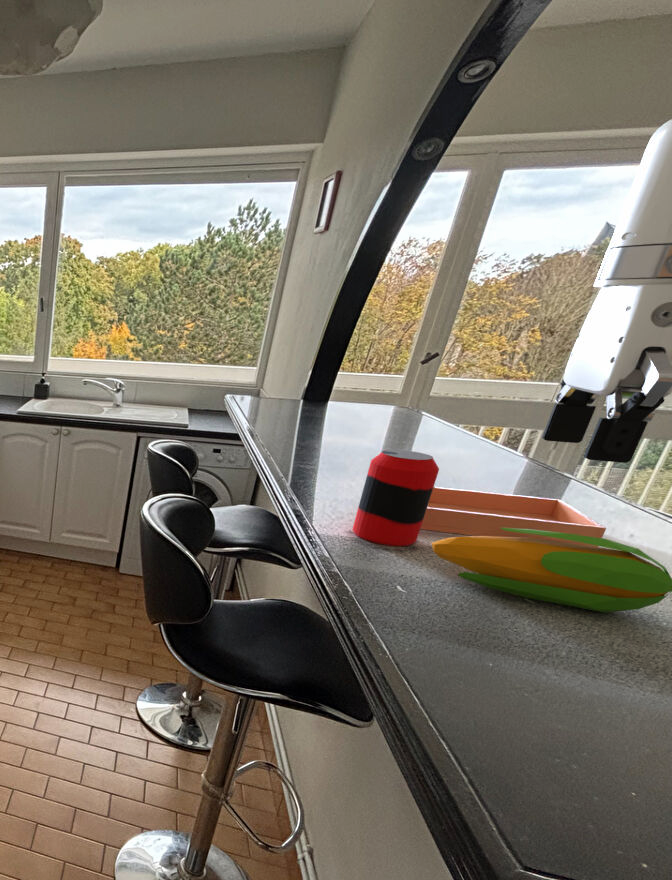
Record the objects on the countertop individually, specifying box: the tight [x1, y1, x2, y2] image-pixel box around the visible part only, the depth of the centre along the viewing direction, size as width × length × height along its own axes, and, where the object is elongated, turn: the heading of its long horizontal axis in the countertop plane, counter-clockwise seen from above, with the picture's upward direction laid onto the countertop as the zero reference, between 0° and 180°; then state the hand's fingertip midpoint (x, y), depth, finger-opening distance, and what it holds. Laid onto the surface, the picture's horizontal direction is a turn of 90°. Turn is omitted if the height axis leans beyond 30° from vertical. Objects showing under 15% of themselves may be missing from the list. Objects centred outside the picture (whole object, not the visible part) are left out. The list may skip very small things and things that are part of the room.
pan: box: [420, 486, 607, 547], centre depth 89 cm, size 24×14×3 cm, turn 65°
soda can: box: [352, 449, 440, 547], centre depth 82 cm, size 8×8×12 cm
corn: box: [430, 528, 672, 614], centre depth 66 cm, size 7×8×20 cm
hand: (581, 450), depth 61 cm, fingers open, 9 cm apart
